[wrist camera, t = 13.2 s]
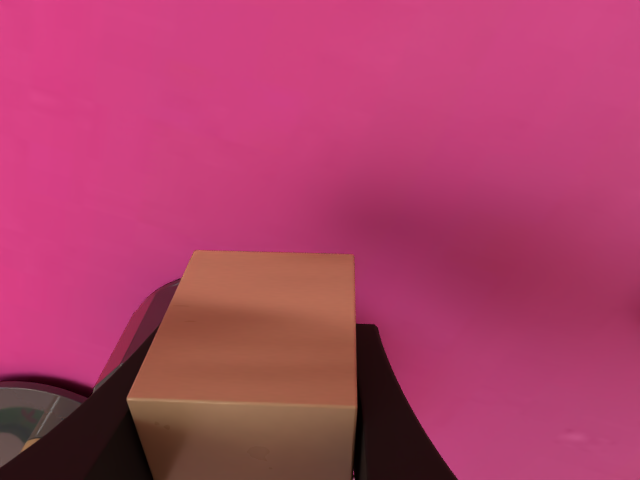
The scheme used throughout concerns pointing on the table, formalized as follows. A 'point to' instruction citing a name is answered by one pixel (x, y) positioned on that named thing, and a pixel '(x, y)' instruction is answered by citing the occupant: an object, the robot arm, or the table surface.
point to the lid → (31, 414)
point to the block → (253, 370)
